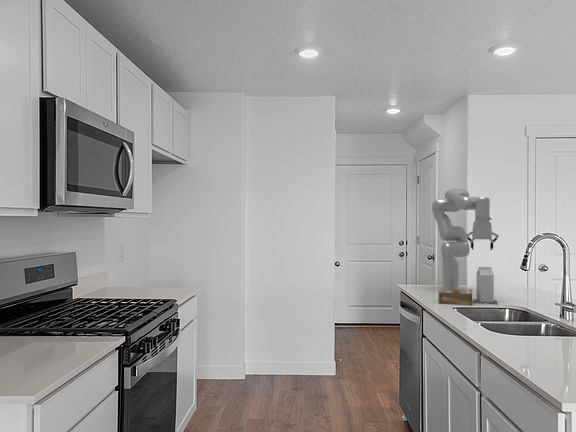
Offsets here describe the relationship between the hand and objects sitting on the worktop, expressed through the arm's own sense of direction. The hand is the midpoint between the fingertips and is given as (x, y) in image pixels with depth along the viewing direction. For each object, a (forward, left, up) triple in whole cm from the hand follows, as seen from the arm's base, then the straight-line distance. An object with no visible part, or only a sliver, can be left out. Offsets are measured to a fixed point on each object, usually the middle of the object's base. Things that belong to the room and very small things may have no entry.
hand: (481, 249), depth 281 cm
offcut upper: (0, -14, -27) cm, 30 cm away
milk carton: (+1, +2, -29) cm, 29 cm away
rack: (+6, -14, -29) cm, 33 cm away
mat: (+2, +2, -29) cm, 29 cm away
